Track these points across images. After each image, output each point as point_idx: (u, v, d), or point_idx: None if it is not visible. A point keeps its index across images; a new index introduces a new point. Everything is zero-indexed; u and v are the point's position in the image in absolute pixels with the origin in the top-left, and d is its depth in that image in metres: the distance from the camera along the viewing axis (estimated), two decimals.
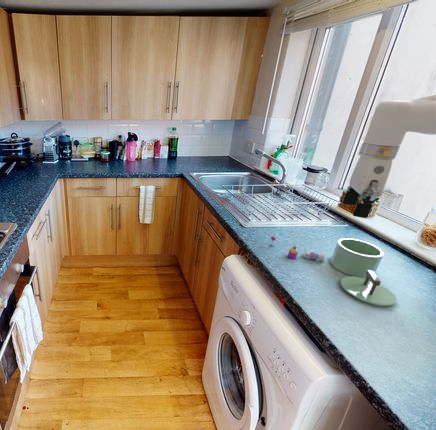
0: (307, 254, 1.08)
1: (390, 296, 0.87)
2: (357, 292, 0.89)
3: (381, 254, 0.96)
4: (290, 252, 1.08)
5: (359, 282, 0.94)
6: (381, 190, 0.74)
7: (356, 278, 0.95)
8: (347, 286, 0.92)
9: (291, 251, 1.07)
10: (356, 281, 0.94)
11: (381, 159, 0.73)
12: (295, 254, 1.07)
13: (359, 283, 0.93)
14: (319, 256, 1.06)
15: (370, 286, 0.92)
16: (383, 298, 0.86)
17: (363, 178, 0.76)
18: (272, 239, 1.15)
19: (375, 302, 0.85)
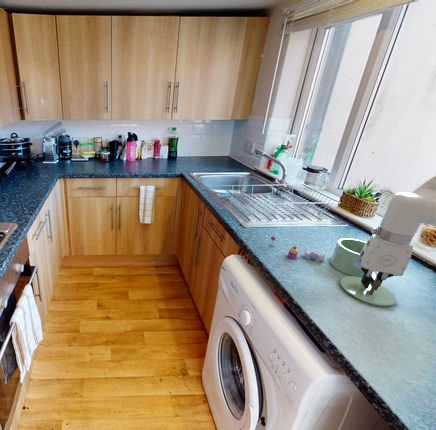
0: (307, 254, 1.08)
1: (390, 296, 0.87)
2: (357, 292, 0.89)
3: None
4: (290, 252, 1.08)
5: (359, 282, 0.94)
6: (363, 261, 0.86)
7: (356, 278, 0.95)
8: (347, 286, 0.92)
9: (291, 251, 1.07)
10: (356, 281, 0.94)
11: (374, 236, 0.84)
12: (295, 254, 1.07)
13: (359, 283, 0.93)
14: (319, 256, 1.06)
15: (370, 286, 0.92)
16: (383, 298, 0.86)
17: None
18: (272, 239, 1.15)
19: (375, 302, 0.85)
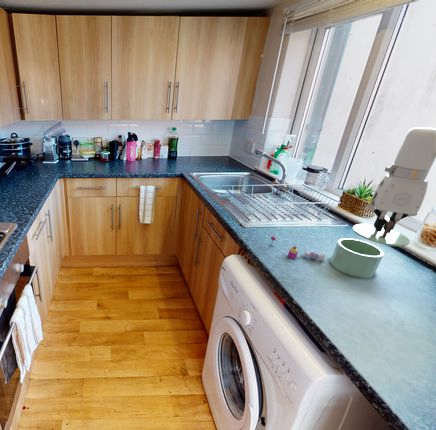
0: (307, 254, 1.08)
1: (403, 238, 0.86)
2: (370, 235, 0.88)
3: (381, 254, 0.96)
4: (290, 252, 1.08)
5: (371, 228, 0.92)
6: (376, 202, 0.85)
7: (368, 225, 0.94)
8: (359, 231, 0.90)
9: (291, 251, 1.07)
10: (368, 227, 0.93)
11: (388, 176, 0.83)
12: (295, 254, 1.07)
13: (371, 229, 0.92)
14: (319, 256, 1.06)
15: (382, 231, 0.91)
16: (396, 240, 0.85)
17: None
18: (272, 239, 1.15)
19: (389, 243, 0.84)
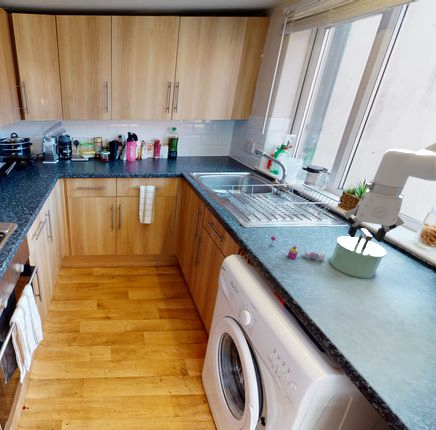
0: (307, 254, 1.08)
1: (381, 250, 0.97)
2: (351, 247, 0.98)
3: None
4: (290, 252, 1.08)
5: (353, 240, 1.03)
6: (358, 214, 0.95)
7: (351, 237, 1.05)
8: (342, 243, 1.01)
9: (291, 251, 1.07)
10: (350, 239, 1.03)
11: (368, 191, 0.93)
12: (295, 254, 1.07)
13: (353, 241, 1.02)
14: (319, 256, 1.06)
15: (363, 243, 1.01)
16: (374, 252, 0.96)
17: None
18: (272, 239, 1.15)
19: (367, 254, 0.94)
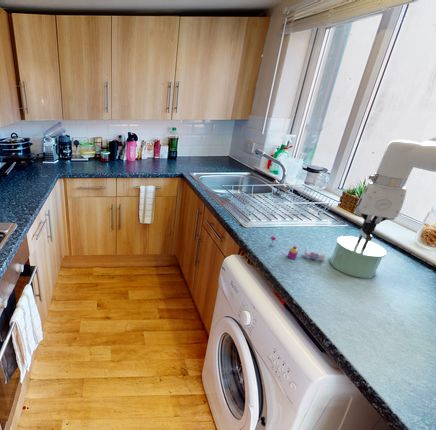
0: (307, 254, 1.08)
1: (381, 250, 0.97)
2: (351, 247, 0.98)
3: None
4: (290, 252, 1.08)
5: (353, 240, 1.03)
6: (360, 207, 0.94)
7: (351, 237, 1.05)
8: (342, 243, 1.01)
9: (291, 251, 1.07)
10: (350, 239, 1.03)
11: (371, 183, 0.92)
12: (295, 254, 1.07)
13: (353, 241, 1.02)
14: (319, 256, 1.06)
15: (363, 243, 1.01)
16: (374, 252, 0.96)
17: None
18: (272, 239, 1.15)
19: (367, 254, 0.94)
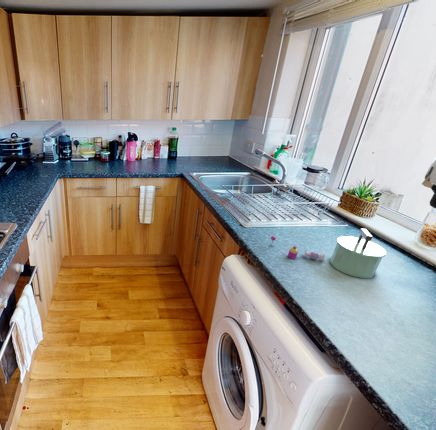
0: (307, 254, 1.08)
1: (381, 250, 0.97)
2: (351, 247, 0.98)
3: None
4: (290, 252, 1.08)
5: (353, 240, 1.03)
6: (432, 177, 0.82)
7: (351, 237, 1.05)
8: (342, 243, 1.01)
9: (291, 251, 1.07)
10: (350, 239, 1.03)
11: None
12: (295, 254, 1.07)
13: (353, 241, 1.02)
14: (319, 256, 1.06)
15: (363, 243, 1.01)
16: (374, 252, 0.96)
17: None
18: (272, 239, 1.15)
19: (367, 254, 0.94)
